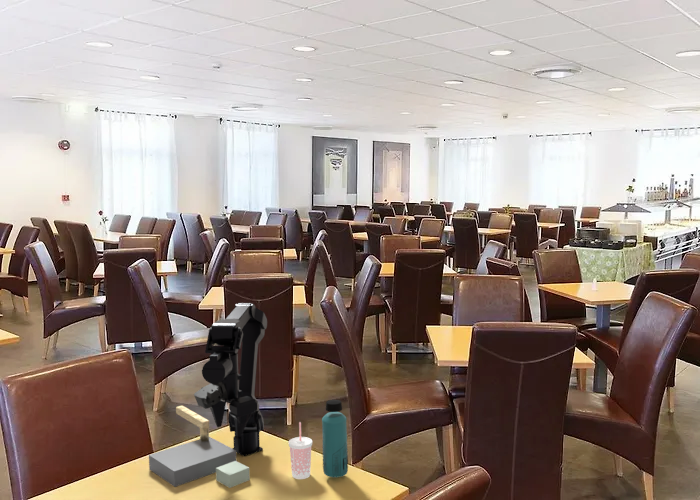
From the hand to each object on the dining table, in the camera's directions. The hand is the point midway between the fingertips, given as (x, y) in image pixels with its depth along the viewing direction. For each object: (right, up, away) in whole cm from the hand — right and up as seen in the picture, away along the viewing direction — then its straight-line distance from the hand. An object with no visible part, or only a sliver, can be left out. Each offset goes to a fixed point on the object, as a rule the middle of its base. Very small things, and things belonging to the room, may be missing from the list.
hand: (228, 431), depth 161 cm
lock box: (-11, -12, +7) cm, 17 cm away
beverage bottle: (+27, -12, 0) cm, 30 cm away
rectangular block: (+1, -12, -1) cm, 12 cm away
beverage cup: (+18, -12, +1) cm, 22 cm away
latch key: (-14, -6, +20) cm, 26 cm away
